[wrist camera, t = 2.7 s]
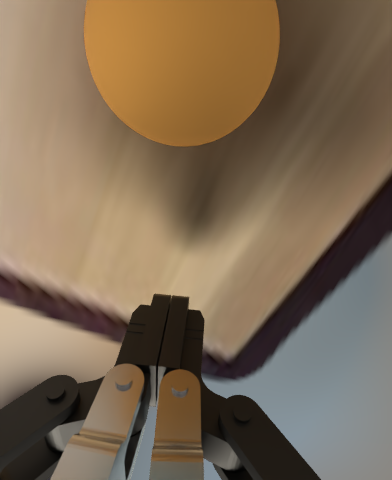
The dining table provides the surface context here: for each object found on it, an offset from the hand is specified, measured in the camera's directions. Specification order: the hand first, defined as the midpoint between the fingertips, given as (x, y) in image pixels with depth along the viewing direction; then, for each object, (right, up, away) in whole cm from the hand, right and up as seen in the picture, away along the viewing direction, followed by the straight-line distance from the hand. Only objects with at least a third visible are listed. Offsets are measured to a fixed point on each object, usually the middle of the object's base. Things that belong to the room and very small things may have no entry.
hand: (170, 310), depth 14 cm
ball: (+1, +9, -5) cm, 10 cm away
